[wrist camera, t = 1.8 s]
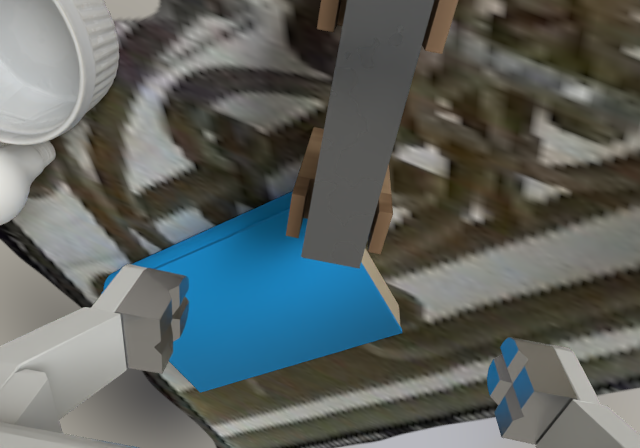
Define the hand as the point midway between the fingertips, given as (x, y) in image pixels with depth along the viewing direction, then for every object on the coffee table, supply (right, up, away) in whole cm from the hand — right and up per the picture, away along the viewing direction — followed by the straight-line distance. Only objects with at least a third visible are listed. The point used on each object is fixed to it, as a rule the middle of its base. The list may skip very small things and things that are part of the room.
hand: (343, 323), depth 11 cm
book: (-7, -4, +34) cm, 35 cm away
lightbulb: (-25, +10, +27) cm, 38 cm away
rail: (+2, +9, +14) cm, 16 cm away
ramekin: (-21, +17, +22) cm, 35 cm away
